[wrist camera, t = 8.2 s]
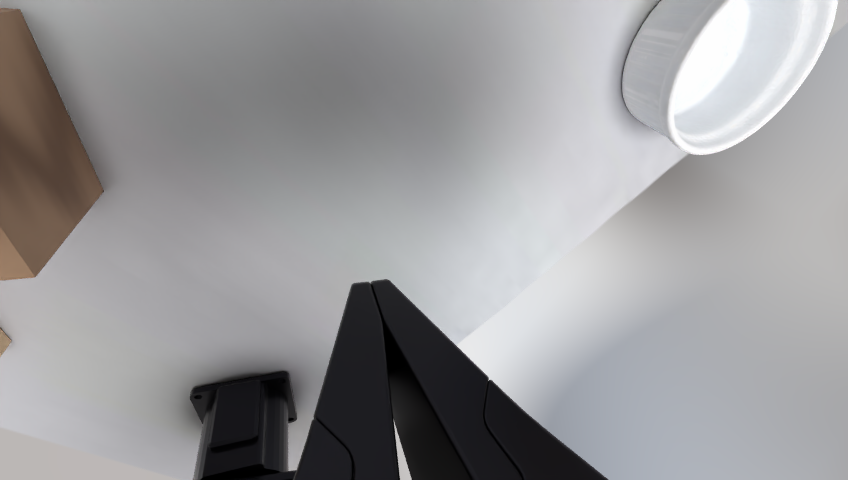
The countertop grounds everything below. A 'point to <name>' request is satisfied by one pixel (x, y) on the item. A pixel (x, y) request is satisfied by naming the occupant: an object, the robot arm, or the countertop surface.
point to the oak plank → (3, 342)
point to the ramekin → (721, 66)
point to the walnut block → (36, 158)
